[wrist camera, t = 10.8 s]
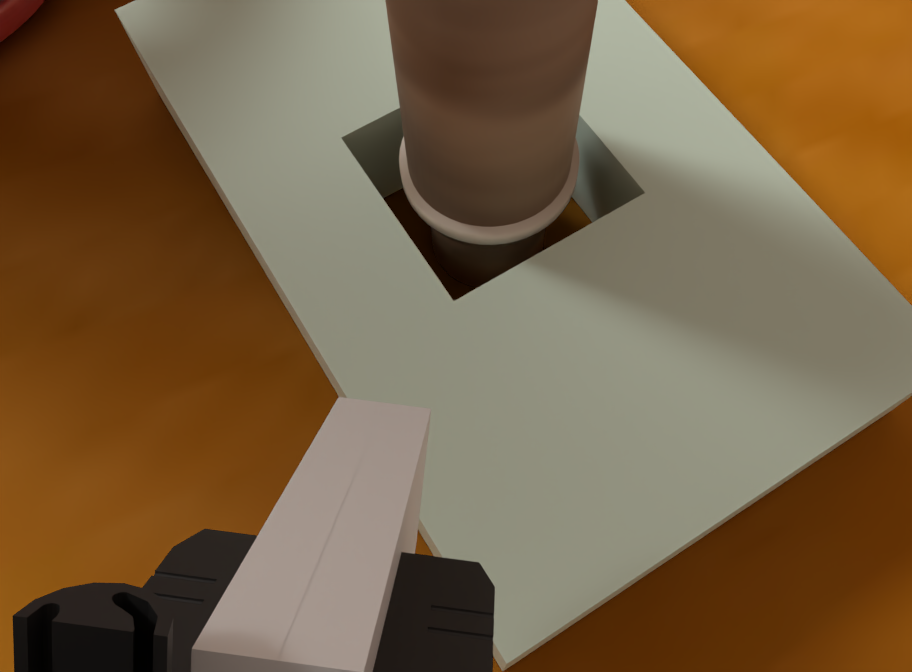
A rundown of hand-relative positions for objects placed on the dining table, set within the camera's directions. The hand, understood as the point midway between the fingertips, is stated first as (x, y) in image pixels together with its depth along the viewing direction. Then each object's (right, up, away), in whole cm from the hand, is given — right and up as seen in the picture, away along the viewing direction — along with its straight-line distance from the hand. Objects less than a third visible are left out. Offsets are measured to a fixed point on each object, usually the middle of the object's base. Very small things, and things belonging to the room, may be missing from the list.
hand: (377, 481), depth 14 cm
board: (+2, +5, +11) cm, 12 cm away
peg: (+2, +5, +11) cm, 12 cm away
